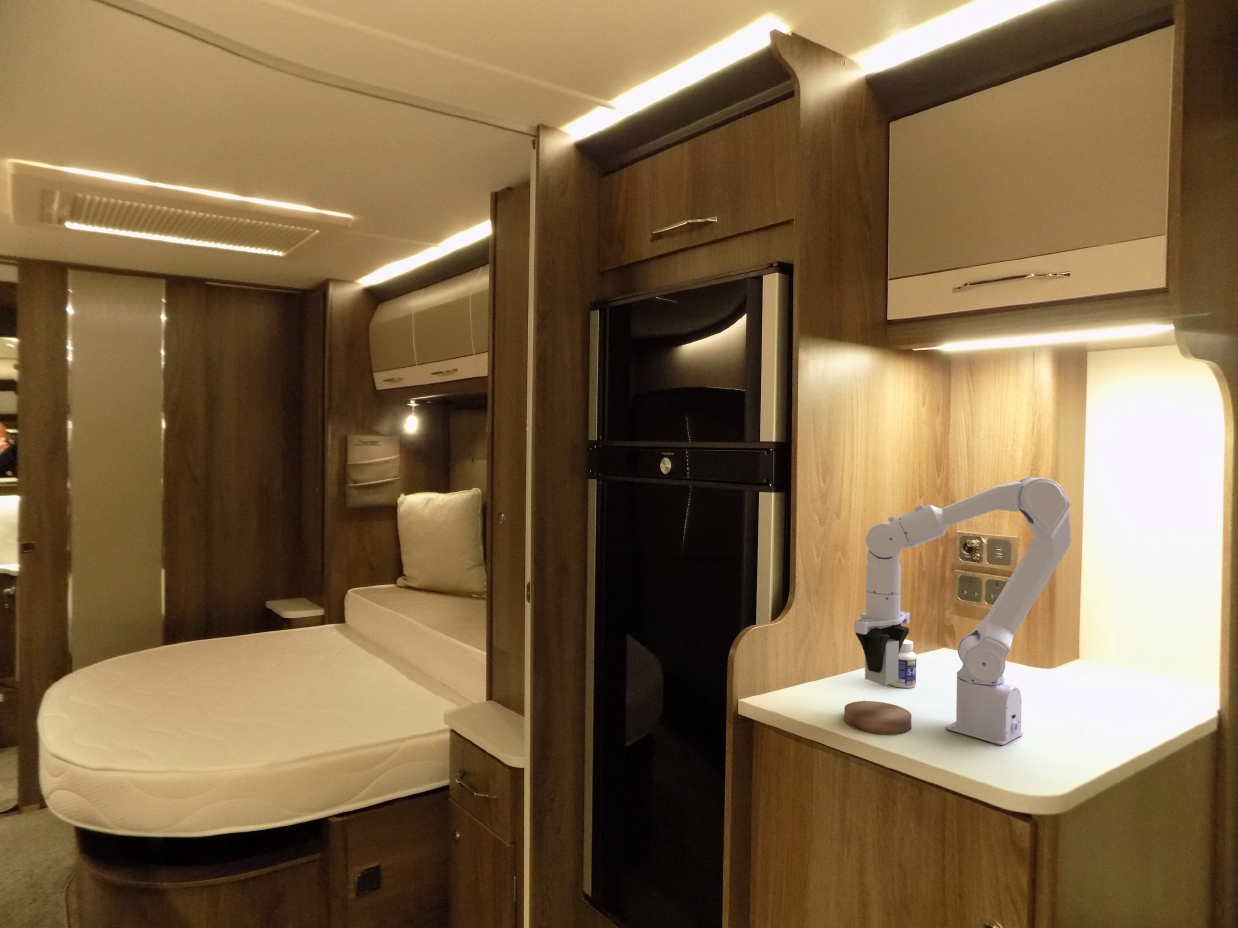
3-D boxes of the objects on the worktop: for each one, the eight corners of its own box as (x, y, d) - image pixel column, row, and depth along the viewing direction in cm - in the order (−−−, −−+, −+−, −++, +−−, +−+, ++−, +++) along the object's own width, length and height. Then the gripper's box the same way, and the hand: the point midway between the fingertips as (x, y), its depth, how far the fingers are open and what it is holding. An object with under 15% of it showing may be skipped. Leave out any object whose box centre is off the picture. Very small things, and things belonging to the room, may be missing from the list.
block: (898, 680, 133) (898, 640, 133) (885, 684, 130) (886, 644, 130) (877, 675, 136) (878, 636, 136) (864, 679, 133) (865, 639, 133)
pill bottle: (911, 690, 150) (912, 645, 150) (884, 685, 153) (885, 641, 153) (919, 684, 154) (919, 640, 154) (893, 679, 157) (893, 636, 157)
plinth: (923, 724, 131) (923, 713, 131) (889, 739, 124) (889, 727, 124) (866, 707, 139) (866, 696, 139) (831, 720, 132) (831, 709, 132)
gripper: (885, 584, 140) (883, 657, 141) (839, 592, 131) (837, 670, 131) (921, 589, 135) (919, 665, 135) (875, 598, 126) (874, 680, 126)
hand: (881, 668), depth 133 cm, fingers closed on block, 4 cm apart
